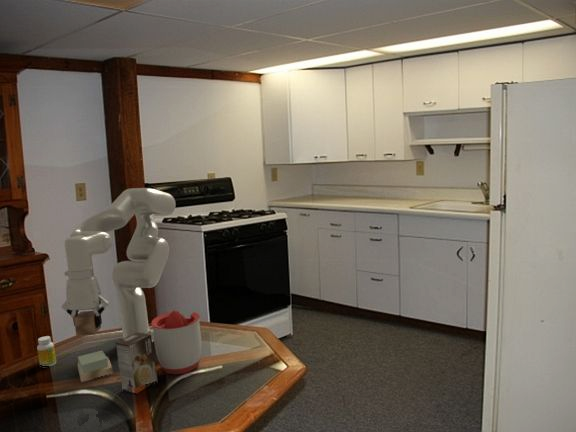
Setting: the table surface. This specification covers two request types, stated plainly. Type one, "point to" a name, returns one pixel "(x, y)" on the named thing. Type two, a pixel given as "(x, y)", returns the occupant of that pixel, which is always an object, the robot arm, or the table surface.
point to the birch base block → (95, 372)
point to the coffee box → (136, 360)
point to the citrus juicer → (177, 342)
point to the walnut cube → (85, 323)
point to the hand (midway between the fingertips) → (88, 326)
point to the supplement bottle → (46, 351)
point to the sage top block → (93, 361)
